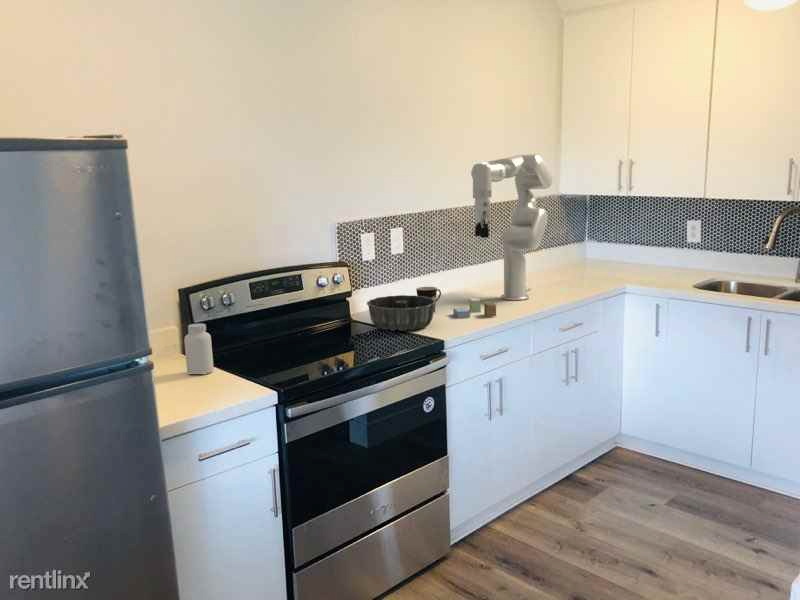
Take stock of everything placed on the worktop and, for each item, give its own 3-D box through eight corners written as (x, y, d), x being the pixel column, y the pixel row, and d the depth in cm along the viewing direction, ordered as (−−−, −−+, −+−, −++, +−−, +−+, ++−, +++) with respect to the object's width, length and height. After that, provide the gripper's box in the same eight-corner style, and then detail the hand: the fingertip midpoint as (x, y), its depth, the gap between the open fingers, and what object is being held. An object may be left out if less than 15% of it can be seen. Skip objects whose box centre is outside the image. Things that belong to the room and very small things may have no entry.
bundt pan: (451, 325, 279) (450, 299, 277) (402, 338, 261) (401, 310, 259) (402, 316, 298) (402, 292, 296) (353, 328, 280) (352, 302, 278)
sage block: (469, 309, 307) (469, 298, 306) (477, 309, 307) (477, 297, 306) (472, 312, 301) (472, 300, 300) (480, 312, 301) (480, 300, 300)
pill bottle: (216, 368, 230) (212, 321, 227) (210, 375, 222) (206, 327, 220) (190, 369, 230) (186, 322, 227) (184, 376, 222) (179, 328, 219)
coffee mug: (420, 314, 300) (419, 290, 298) (414, 311, 308) (413, 287, 306) (447, 312, 303) (446, 288, 301) (440, 308, 311) (440, 285, 309)
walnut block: (484, 314, 296) (484, 302, 295) (492, 314, 296) (492, 302, 296) (487, 317, 290) (487, 305, 289) (496, 317, 291) (496, 304, 290)
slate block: (453, 315, 298) (453, 307, 298) (465, 314, 299) (465, 307, 298) (457, 319, 291) (457, 311, 290) (470, 318, 291) (469, 310, 291)
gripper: (496, 194, 289) (496, 238, 291) (486, 194, 306) (485, 235, 308) (477, 194, 288) (477, 238, 290) (468, 194, 305) (468, 235, 307)
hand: (481, 236), depth 299 cm, fingers open, 9 cm apart
